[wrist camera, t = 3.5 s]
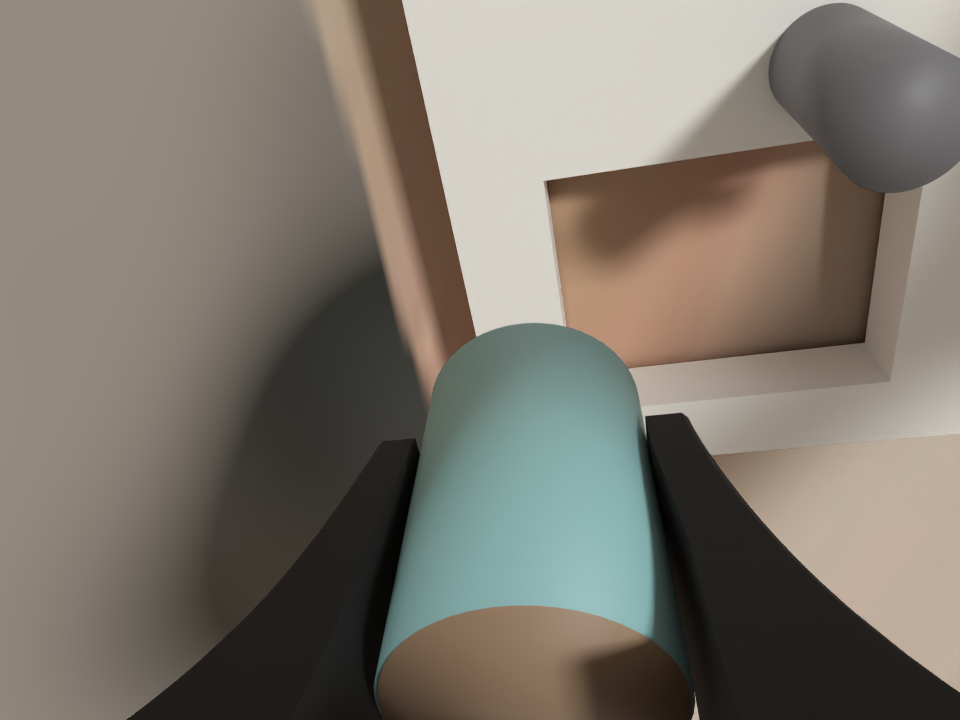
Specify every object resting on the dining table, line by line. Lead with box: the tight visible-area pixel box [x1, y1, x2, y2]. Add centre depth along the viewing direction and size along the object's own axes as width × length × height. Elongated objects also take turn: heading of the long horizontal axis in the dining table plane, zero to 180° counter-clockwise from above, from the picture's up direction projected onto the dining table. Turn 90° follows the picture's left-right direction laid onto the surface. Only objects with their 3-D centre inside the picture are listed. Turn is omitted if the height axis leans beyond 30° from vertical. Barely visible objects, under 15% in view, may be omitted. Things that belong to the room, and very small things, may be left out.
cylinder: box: [374, 323, 695, 720], centre depth 12 cm, size 4×4×6 cm
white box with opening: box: [402, 0, 960, 455], centre depth 16 cm, size 14×20×6 cm
